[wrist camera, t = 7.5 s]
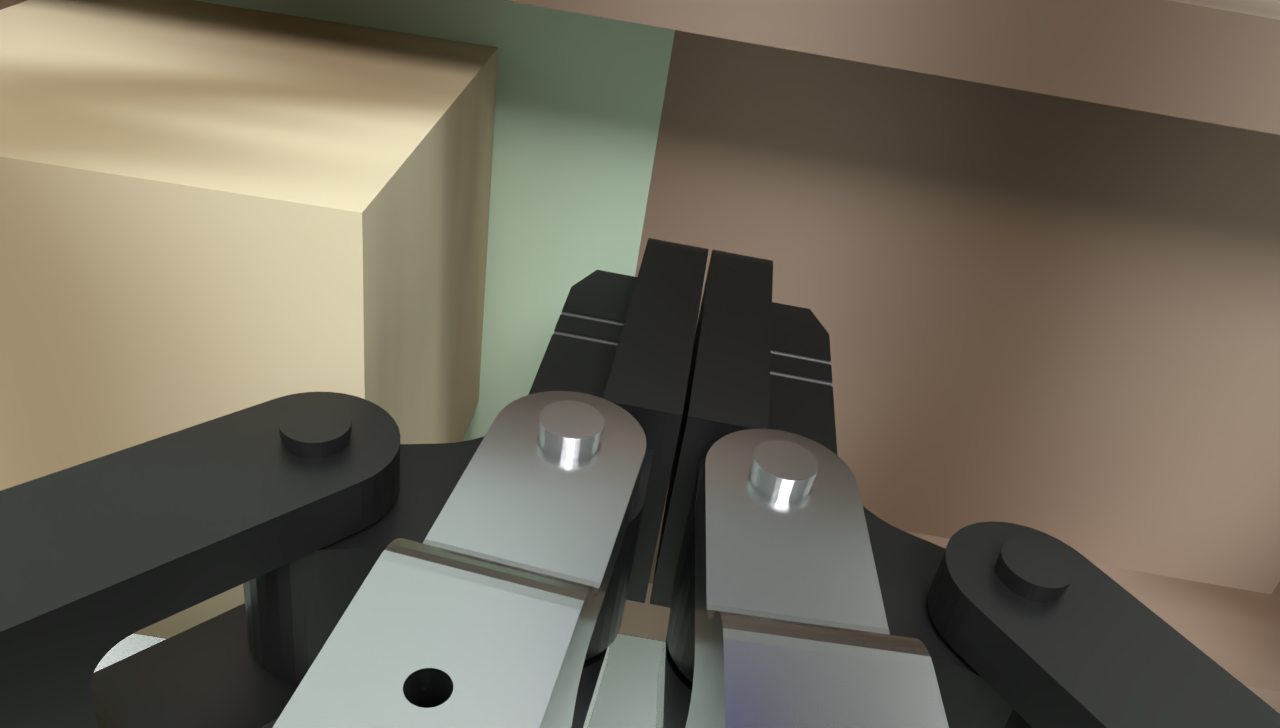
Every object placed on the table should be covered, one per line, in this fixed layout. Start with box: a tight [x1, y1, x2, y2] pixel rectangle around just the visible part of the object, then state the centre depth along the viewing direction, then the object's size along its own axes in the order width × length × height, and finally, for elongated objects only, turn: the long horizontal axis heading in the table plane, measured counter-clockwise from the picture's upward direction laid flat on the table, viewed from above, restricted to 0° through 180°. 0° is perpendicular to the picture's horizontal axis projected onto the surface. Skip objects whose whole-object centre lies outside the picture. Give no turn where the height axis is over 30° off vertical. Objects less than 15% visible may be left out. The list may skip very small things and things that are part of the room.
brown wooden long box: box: [0, 0, 1280, 713], centre depth 13 cm, size 24×9×6 cm, turn 81°
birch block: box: [0, 0, 499, 639], centre depth 11 cm, size 5×5×5 cm
